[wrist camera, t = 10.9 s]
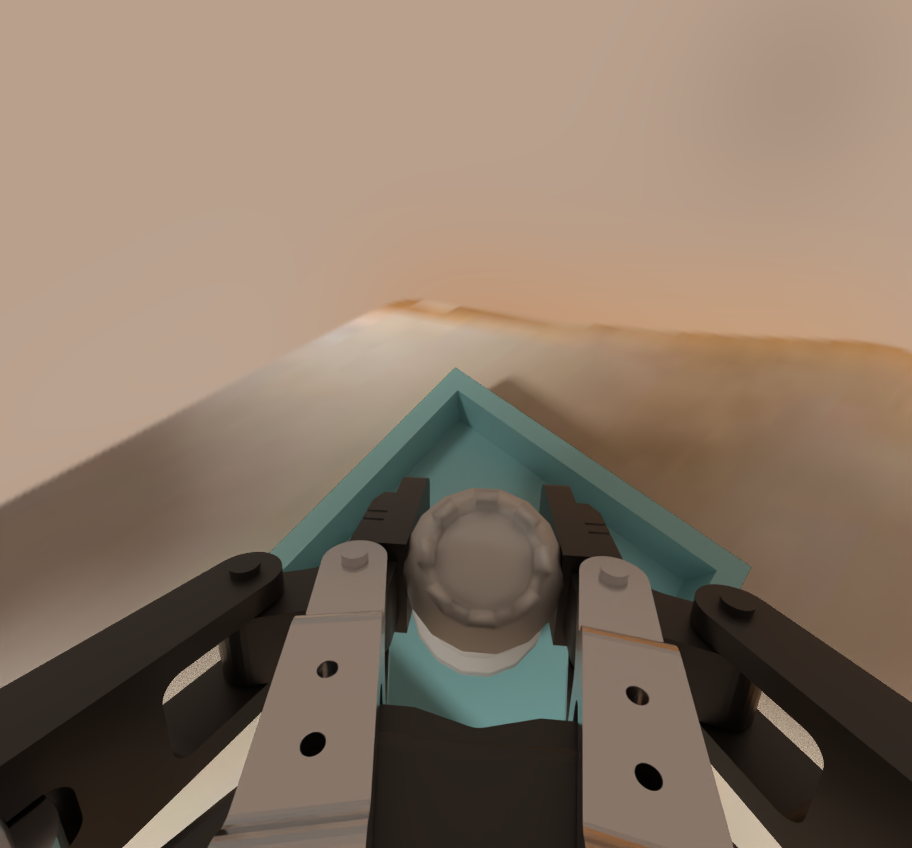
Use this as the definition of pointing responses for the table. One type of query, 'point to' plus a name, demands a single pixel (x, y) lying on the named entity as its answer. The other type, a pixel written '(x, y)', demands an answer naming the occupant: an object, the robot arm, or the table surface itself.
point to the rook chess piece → (482, 580)
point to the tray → (521, 474)
